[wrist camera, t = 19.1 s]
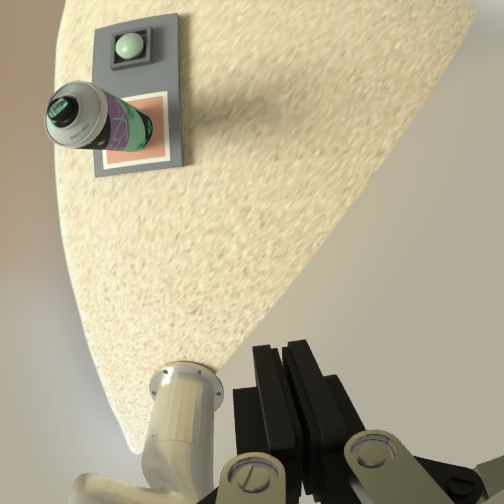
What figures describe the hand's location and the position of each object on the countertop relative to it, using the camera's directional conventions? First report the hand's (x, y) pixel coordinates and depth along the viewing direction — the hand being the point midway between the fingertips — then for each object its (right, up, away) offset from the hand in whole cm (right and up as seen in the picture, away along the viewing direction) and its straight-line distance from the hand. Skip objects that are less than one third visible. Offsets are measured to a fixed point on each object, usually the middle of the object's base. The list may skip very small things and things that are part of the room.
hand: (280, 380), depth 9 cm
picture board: (-16, +25, +26) cm, 40 cm away
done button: (-16, +30, +22) cm, 41 cm away
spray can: (-16, +19, +26) cm, 37 cm away
